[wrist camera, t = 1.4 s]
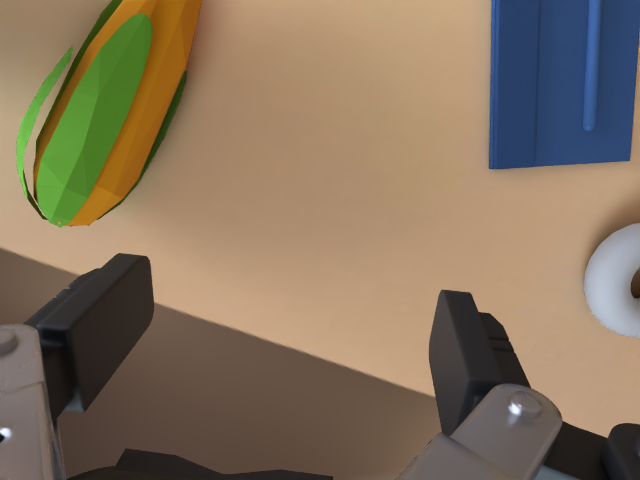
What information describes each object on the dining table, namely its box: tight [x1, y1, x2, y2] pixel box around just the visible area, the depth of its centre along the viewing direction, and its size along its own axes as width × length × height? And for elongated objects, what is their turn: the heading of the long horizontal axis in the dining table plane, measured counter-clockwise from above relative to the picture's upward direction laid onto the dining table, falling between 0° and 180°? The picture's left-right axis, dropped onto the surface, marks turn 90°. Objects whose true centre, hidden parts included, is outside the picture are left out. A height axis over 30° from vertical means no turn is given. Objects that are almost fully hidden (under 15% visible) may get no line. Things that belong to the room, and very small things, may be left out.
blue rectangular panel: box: [489, 0, 640, 169], centre depth 35 cm, size 22×12×1 cm, turn 3°
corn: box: [17, 0, 202, 227], centre depth 30 cm, size 7×8×20 cm
